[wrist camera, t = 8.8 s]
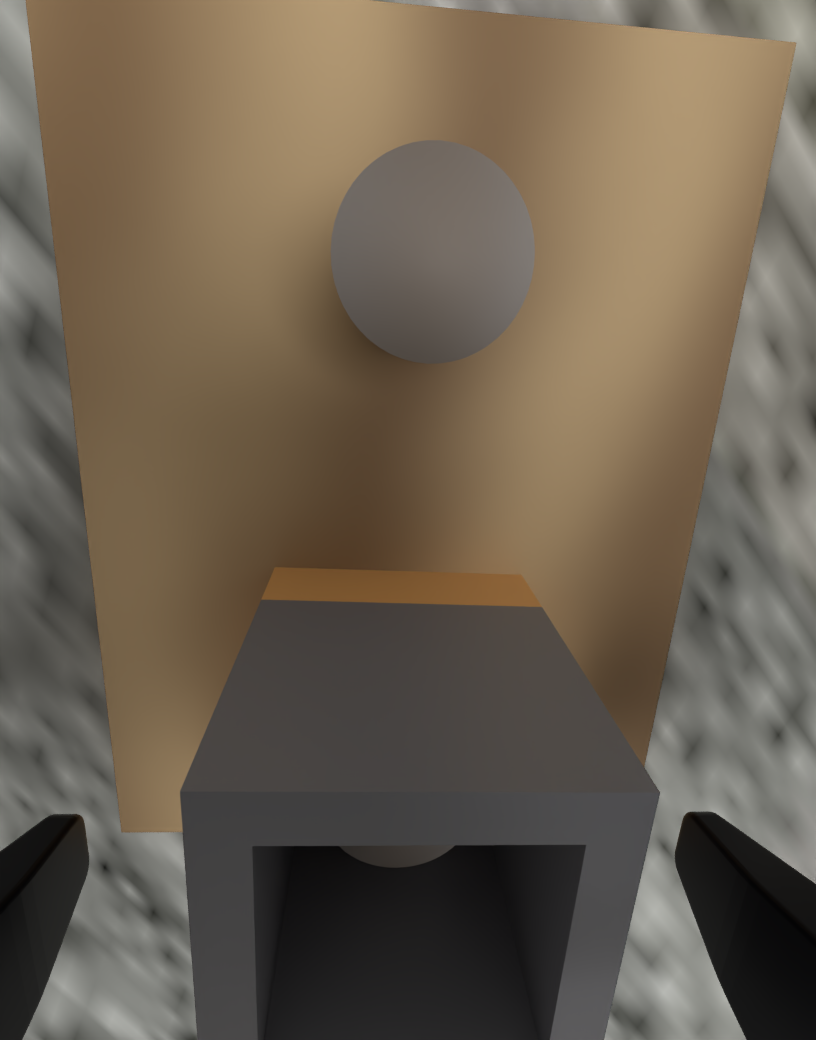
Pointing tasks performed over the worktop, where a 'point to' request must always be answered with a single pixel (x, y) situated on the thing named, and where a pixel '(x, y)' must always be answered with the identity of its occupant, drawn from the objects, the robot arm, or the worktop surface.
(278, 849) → the sleeve
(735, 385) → the worktop surface
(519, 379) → the pin board
